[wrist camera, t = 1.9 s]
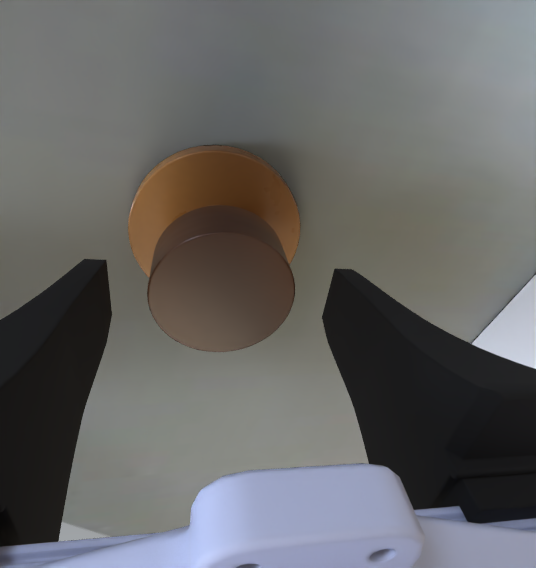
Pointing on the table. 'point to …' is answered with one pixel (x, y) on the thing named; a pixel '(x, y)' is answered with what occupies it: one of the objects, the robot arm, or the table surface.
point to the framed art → (514, 329)
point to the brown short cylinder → (220, 279)
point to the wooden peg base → (210, 195)
